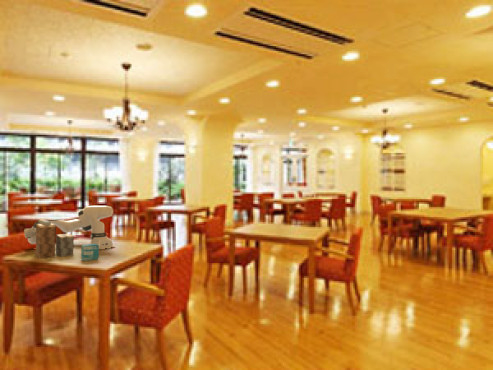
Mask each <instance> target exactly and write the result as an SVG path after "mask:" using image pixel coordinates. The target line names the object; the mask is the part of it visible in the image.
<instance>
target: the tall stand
mask: <svg viewBox="0 0 493 370" xmlns="http://www.w3.org/2000/svg"><path fill="white" fill-rule="evenodd" d="M56 227H57V226H56V225H55V224H52V223H51V225H43V224H36V243H35V256H36V258H38V259H39V258H40V259H47V258H56V229H57V228H56Z"/></svg>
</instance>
